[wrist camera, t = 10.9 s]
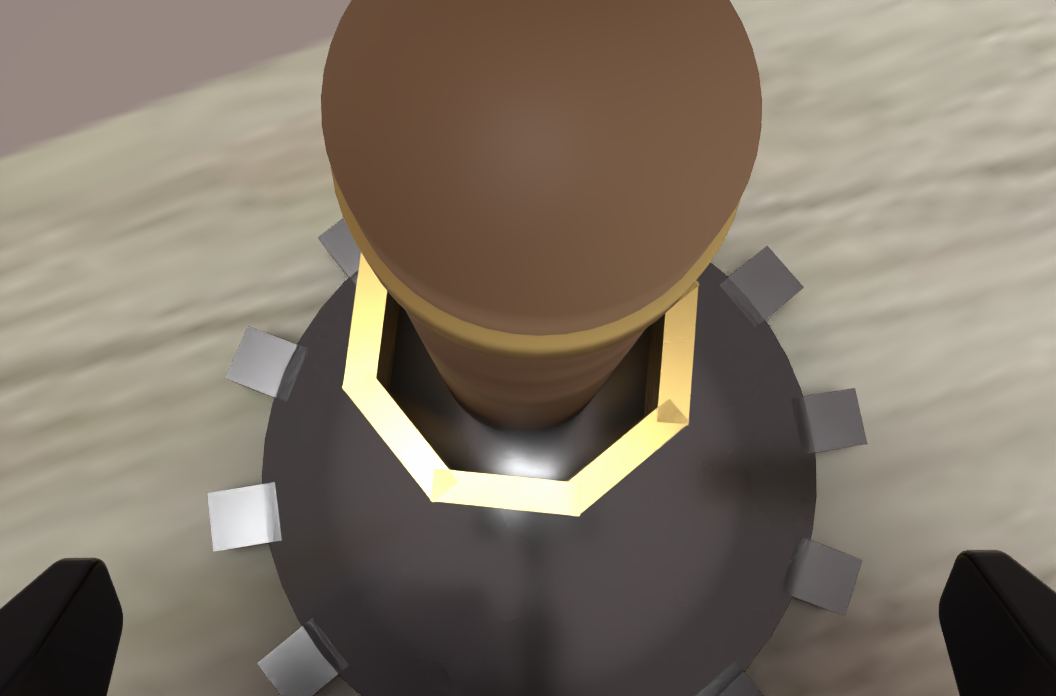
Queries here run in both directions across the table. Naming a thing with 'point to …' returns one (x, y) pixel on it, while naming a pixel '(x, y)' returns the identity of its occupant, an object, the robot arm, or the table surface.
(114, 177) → the table surface
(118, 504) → the table surface
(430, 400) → the sprocket
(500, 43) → the peg
